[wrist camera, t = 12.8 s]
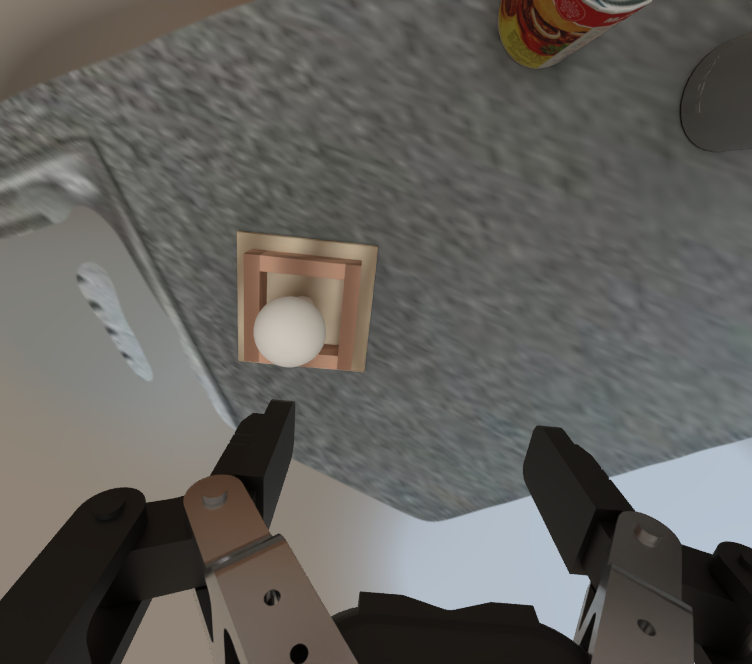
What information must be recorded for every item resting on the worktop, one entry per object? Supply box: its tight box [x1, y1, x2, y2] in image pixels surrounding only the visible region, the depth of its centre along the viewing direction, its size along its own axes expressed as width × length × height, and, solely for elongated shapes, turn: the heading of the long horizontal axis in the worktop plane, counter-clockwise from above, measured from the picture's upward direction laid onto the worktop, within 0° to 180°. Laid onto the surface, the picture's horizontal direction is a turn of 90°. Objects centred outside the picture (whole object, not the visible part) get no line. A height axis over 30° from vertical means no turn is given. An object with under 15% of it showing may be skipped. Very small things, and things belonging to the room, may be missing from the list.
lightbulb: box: [253, 296, 326, 367], centre depth 36 cm, size 6×6×11 cm
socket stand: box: [237, 231, 378, 372], centre depth 40 cm, size 14×14×4 cm
